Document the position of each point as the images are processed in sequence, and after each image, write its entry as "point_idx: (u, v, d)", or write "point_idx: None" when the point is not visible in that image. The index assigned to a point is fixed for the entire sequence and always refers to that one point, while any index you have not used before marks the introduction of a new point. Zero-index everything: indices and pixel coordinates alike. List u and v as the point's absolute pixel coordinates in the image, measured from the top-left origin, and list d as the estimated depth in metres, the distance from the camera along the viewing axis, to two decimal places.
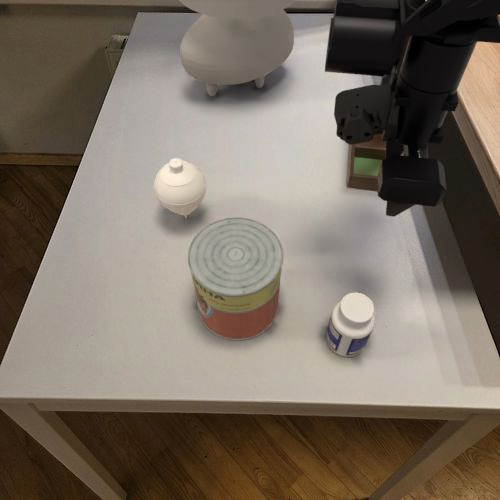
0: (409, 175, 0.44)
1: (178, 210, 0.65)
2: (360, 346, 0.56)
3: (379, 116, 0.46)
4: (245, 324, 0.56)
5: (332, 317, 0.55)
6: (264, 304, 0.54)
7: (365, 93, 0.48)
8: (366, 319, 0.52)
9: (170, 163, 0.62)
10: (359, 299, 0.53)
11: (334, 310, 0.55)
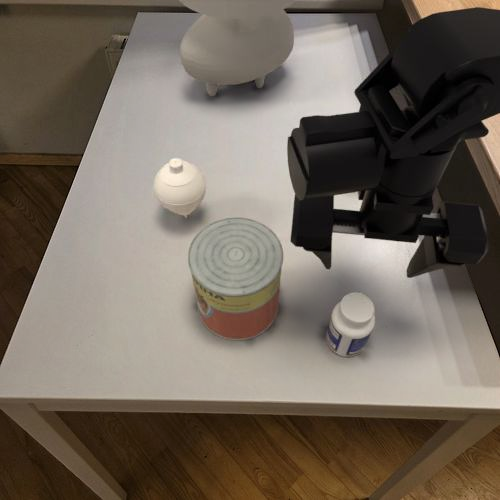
0: (306, 200, 0.45)
1: (178, 210, 0.65)
2: (360, 346, 0.56)
3: None
4: (245, 324, 0.56)
5: (332, 317, 0.55)
6: (264, 304, 0.54)
7: None
8: (366, 319, 0.52)
9: (170, 163, 0.62)
10: (359, 299, 0.53)
11: (334, 310, 0.55)
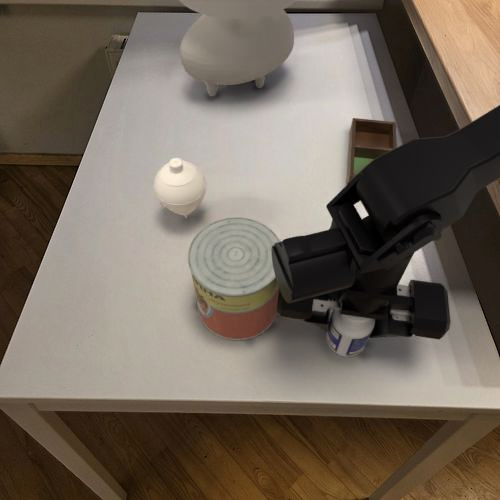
0: None
1: (178, 210, 0.65)
2: (360, 346, 0.56)
3: None
4: (245, 324, 0.56)
5: (332, 317, 0.55)
6: (264, 304, 0.54)
7: None
8: (366, 319, 0.52)
9: (170, 162, 0.62)
10: None
11: (334, 310, 0.55)
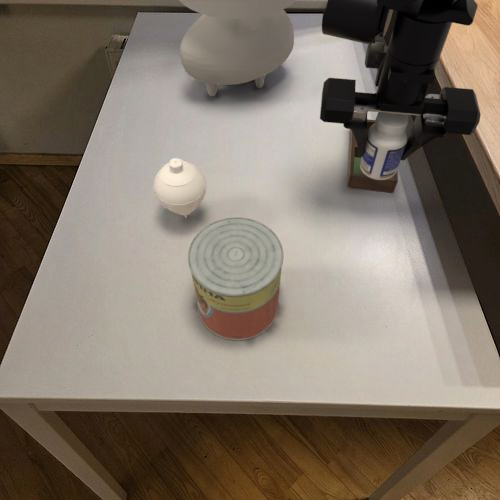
0: (333, 85, 0.56)
1: (178, 210, 0.65)
2: (394, 163, 0.61)
3: (384, 58, 0.56)
4: (245, 324, 0.56)
5: (368, 134, 0.60)
6: (264, 304, 0.54)
7: None
8: (401, 125, 0.57)
9: (170, 163, 0.62)
10: None
11: (370, 128, 0.60)
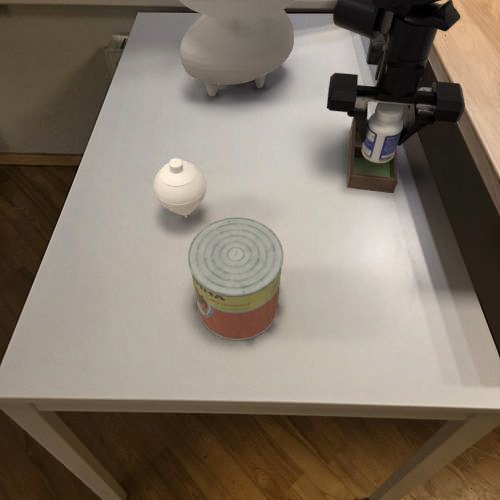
0: (338, 78, 0.65)
1: (178, 210, 0.65)
2: (391, 148, 0.70)
3: (382, 56, 0.64)
4: (245, 324, 0.56)
5: (369, 122, 0.69)
6: (264, 304, 0.54)
7: None
8: (397, 114, 0.65)
9: (170, 163, 0.62)
10: None
11: (370, 117, 0.69)
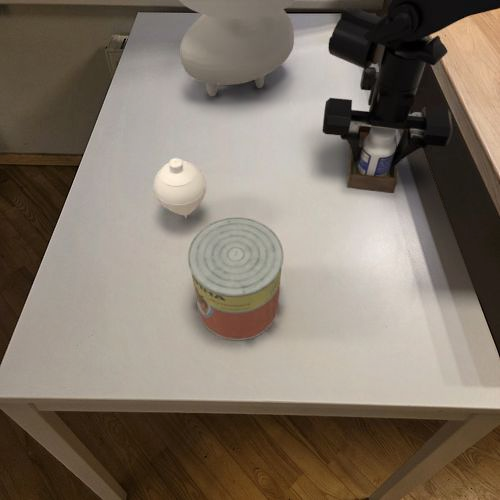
0: (333, 104, 0.68)
1: (178, 210, 0.65)
2: (384, 168, 0.73)
3: (375, 82, 0.68)
4: (245, 324, 0.56)
5: (363, 144, 0.72)
6: (264, 304, 0.54)
7: None
8: (390, 137, 0.69)
9: (170, 163, 0.62)
10: None
11: (365, 139, 0.72)
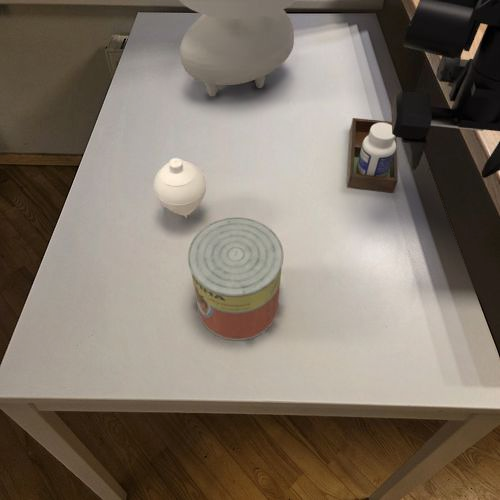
0: (406, 99, 0.54)
1: (178, 210, 0.65)
2: (384, 168, 0.73)
3: (460, 72, 0.54)
4: (245, 324, 0.56)
5: (363, 144, 0.72)
6: (264, 304, 0.54)
7: None
8: (390, 137, 0.69)
9: (170, 163, 0.62)
10: (384, 126, 0.70)
11: (365, 139, 0.72)
